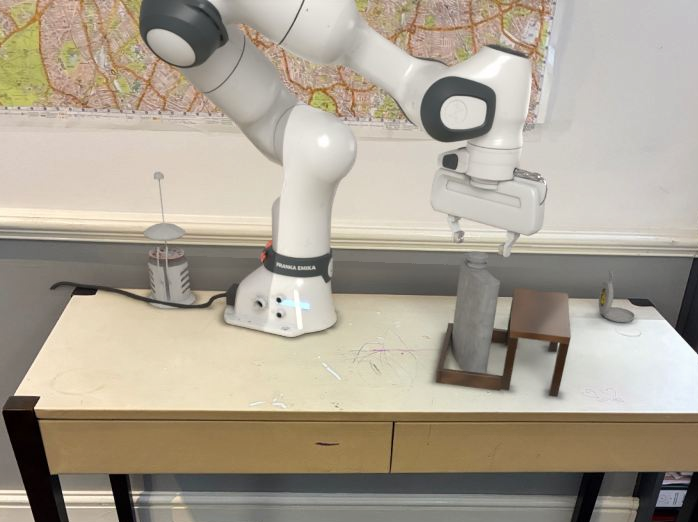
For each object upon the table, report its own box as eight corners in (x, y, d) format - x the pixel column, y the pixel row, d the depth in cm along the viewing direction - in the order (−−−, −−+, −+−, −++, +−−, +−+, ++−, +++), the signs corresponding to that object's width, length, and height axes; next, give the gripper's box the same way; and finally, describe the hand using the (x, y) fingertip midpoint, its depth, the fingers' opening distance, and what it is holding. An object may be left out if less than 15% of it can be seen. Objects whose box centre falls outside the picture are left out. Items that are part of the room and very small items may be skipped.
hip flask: (487, 379, 141) (504, 270, 129) (466, 380, 140) (481, 270, 128) (464, 341, 153) (478, 238, 141) (444, 342, 152) (456, 238, 140)
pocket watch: (640, 320, 166) (652, 274, 160) (613, 328, 162) (625, 281, 156) (610, 306, 171) (621, 261, 165) (584, 313, 167) (594, 267, 161)
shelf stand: (435, 382, 139) (442, 323, 132) (447, 334, 155) (453, 279, 149) (557, 398, 136) (570, 338, 130) (556, 347, 153) (567, 292, 146)
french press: (198, 290, 167) (187, 166, 152) (192, 312, 158) (180, 182, 143) (151, 289, 166) (135, 164, 151) (142, 311, 157) (125, 180, 142)
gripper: (559, 172, 123) (542, 260, 131) (450, 148, 132) (441, 230, 141) (539, 179, 118) (524, 269, 127) (429, 153, 128) (421, 238, 136)
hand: (480, 248), depth 134 cm, fingers open, 8 cm apart
